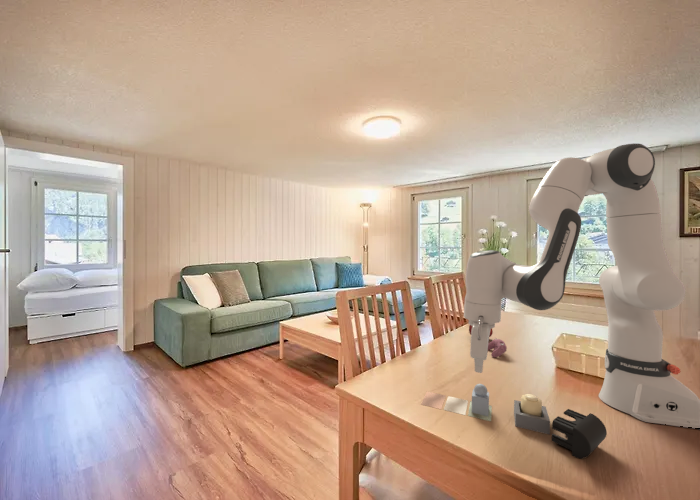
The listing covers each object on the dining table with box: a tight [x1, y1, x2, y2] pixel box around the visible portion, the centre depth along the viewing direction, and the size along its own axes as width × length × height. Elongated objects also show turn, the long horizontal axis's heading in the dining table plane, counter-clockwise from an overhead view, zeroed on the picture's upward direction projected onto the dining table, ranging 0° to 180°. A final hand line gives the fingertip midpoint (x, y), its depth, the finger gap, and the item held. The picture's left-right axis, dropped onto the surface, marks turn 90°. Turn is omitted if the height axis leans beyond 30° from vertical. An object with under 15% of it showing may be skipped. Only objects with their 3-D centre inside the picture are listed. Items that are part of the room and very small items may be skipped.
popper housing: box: [513, 399, 551, 435], centre depth 75 cm, size 7×7×4 cm
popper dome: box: [520, 393, 543, 417], centre depth 75 cm, size 4×4×5 cm
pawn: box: [471, 383, 490, 416], centre depth 80 cm, size 4×4×7 cm
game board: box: [420, 391, 493, 422], centre depth 83 cm, size 18×10×1 cm, turn 64°
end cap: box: [551, 408, 608, 460], centre depth 67 cm, size 10×7×7 cm
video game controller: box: [488, 337, 508, 358], centre depth 124 cm, size 10×5×7 cm, turn 171°
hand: (479, 364), depth 80 cm, fingers open, 8 cm apart
